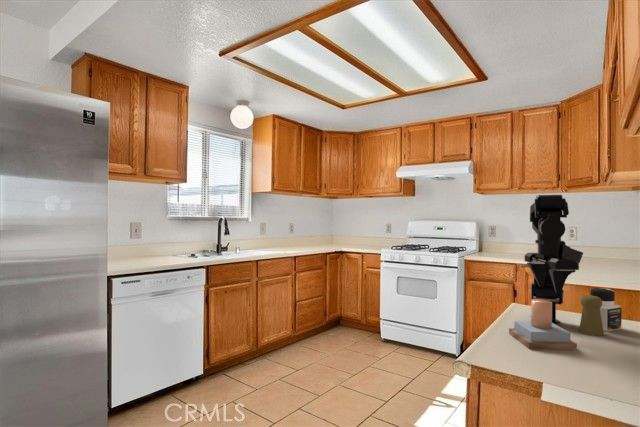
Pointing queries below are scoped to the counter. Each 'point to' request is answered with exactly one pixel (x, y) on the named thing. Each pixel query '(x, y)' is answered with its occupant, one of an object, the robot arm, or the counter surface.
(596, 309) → the olive green tapered piece
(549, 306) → the terracotta cylinder
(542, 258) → the robot arm
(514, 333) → the walnut slab
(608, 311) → the medicine bottle
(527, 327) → the slate slab
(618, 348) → the counter surface
